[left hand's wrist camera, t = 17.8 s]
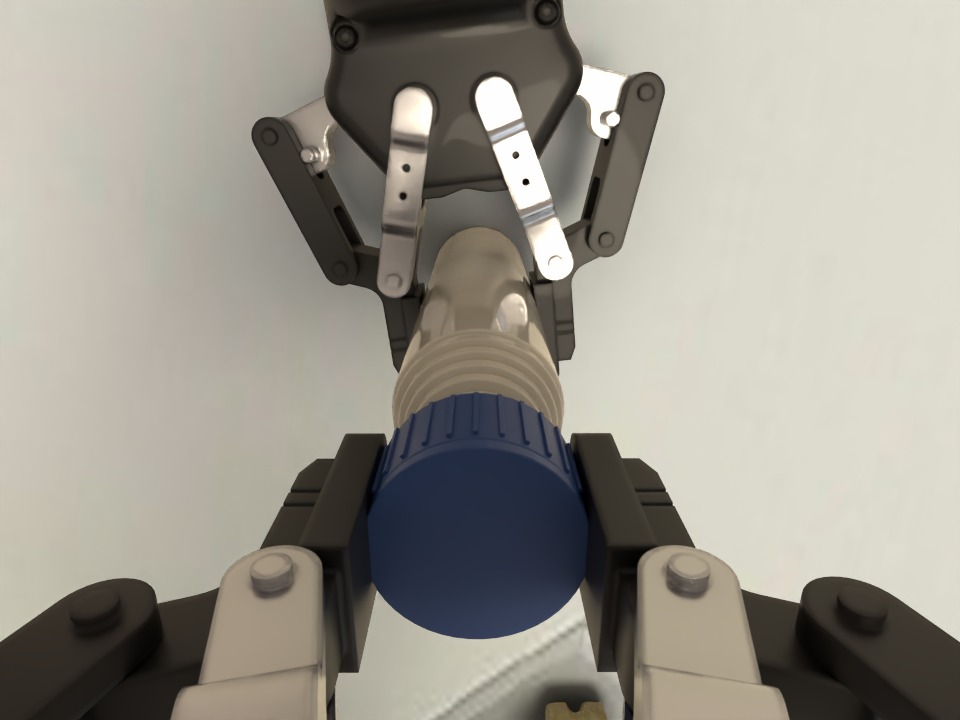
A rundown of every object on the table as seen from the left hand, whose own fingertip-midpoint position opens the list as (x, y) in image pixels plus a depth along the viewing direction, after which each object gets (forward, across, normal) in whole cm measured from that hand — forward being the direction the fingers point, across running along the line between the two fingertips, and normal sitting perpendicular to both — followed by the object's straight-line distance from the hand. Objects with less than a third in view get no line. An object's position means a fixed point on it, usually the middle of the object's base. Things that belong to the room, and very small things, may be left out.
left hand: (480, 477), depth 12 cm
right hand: (+12, 0, -3) cm, 13 cm away
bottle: (+18, 0, 0) cm, 18 cm away
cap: (-2, 0, 0) cm, 2 cm away
